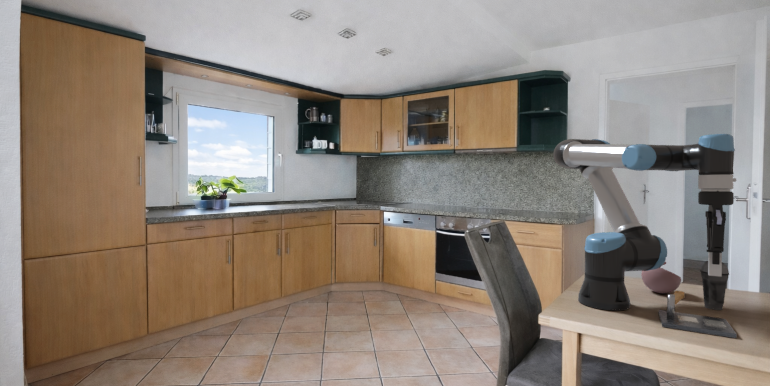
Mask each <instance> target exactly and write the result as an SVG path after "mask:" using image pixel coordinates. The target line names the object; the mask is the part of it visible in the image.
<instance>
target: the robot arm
mask: <svg viewBox="0 0 770 386" xmlns="http://www.w3.org/2000/svg"><path fill="white" fill-rule="evenodd" d="M735 149H736V148H735V142H734V136H733V135H731V134H729V133H713V134H712V133H711V134H704V135H700V137H699V138H698V142H697V143H694V144H681V145H678V144H677V145H674V144H673V145H672V144H670V145H669V144H668V145H667V144H644V143H638V144H637V143H636V144H629V143H628V144H622V143H621V144H618V143H617V144H613V143H612V144H611V143H610V142H608V141H606V140H603V139H597V138H595V139H580V138H578V139H577V138H569V139H564V140H562V141H560V142H559V143H558V144H557V145H556V146H555V148H554V149H553V156H552V157H553V159H554V162H555V163H556V165H558V166H559V167H562V168H564V169H569V170H571V169H572V170H579V171H580V173H581V174H580V175H581V176H582V177H583V179H587V180H589V183H590V185H591V187H592V189H593V191H594V193H595V195H596V197H597V199H598V201H599V204H600V205H601V208H602V210H603V213H604V214H605V216H606V218H607V220H608V223H609V224H610V228H612V231H609V232H603V231H602V232H595V233H591V234H589V235H587V236H586V238H585V243H584V244H585V245H584V279H583V281H582V284H581V287H580V290H579V291H578V297H577V298H578V302H579V303H580V304H582V305H584V306H587V307H589V308H594V309H599V310H604V311H605V310H606V311H626V310H629V309H630V308H631V298H630V296H629V294H628V290H627V287H626V284H625V273H626V272H642V271H649V270H654V269H657V268H659V267H660V268H662V266H664V265H663V264H664V262H666V260H667V257H668V247H667V244H666V242H665V241H664V239H663V238H662V237H659V236H657V235H655V234H653V235H652V233H651V231H650V229H649V227H648V226H647V225H645V224H641V222H640V221H639V219H638V216H637V215H636V213H635V211H634V210H633V208H632V206H631V204H630V202H629V200H628V197H627V195H626V193H625V192H624V190H623V188H622V186H621V183H620V182H619V180H618V178H617V177H616V174H615V173H614V171H613V169H614V168H615V169H626V170H632V171H639V172H640V171H641V172H643V171H665V172H680V171H698V175H697V185H698V187H697V189H699V192H698V195H697V196H698V198H697V199H698V200H697V201H698V204H699V205H702V206H703V205H704V206H705V205H707V207H708V210H705V213H704V214H705V219H706V221H705V222H706V223H705V225H706V241H707V243H706V247H707V249H706V253H707V254H708V256H707V257H708V258H707V259H708V260H707V261H708V275H709V276H720V277H722V262H723V258H722V257H723V252H725V251H724V250H725V248H724V244H725V243H724V242H725V228H726V227H725V226H726V221H727V212H726V211H724V207H723V206H732V205H734V201H735V200H734V195H735V193H734V192H733V191H731V190H733V189H734V182H735V183H736V182H737V178H735V177H734V174H735V173H734V163H735V162H734V161H735V151H736V150H735Z"/></svg>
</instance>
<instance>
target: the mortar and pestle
mask: <svg viewBox="0 0 770 386" xmlns="http://www.w3.org/2000/svg"><path fill="white" fill-rule="evenodd" d="M666 264H667V261H665V262H664V264H663V265H662V266H665V265H666ZM640 273H641V280H642V282H643V284H644V285H645V286H646V288H648V289H649V290H651V291H652V292H655V293H658V294H671V293H672V292H675V291H677V289H678V288H679V287H680V285H681V282H682V277H681V276H679V275H677V274H675V273H673V272H671V271H669V270H667V269H665V268H664V267H659V268H657V269H654V270H649V271H641V272H640Z"/></svg>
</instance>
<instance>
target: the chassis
mask: <svg viewBox="0 0 770 386" xmlns="http://www.w3.org/2000/svg"><path fill="white" fill-rule="evenodd" d="M666 294H667V295H666V296H667V300H666V303H667V305H666V308H667V309H666V310H665V309H663V310H662V309H657V311H658V316H659V321H660V324H661V327H662V328H667V329H674V330H680V331H681V330H682V331H687V332H691V333H692V332H693V333H699V334H706V335H712V336H713V335H714V336H717V337H718V336H719V337H725V338H731V339H737V335H738V334H737V332H736V331H735V329H733V327H732V326H731V324H730V323H729V322H728V320H727V319H726V318H723V317H722V318H721V317H716V316H715V317H714V316H706V315H700V314H692V313H686V312H678V311H675V310H676V309H675V307H676V305H675V295H673V294H674V293H672V294H671V293H666Z"/></svg>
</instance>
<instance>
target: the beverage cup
mask: <svg viewBox="0 0 770 386" xmlns="http://www.w3.org/2000/svg"><path fill="white" fill-rule="evenodd" d="M699 272H700V275H701V279H702V293H703V304H704V308H706V309H709V310H714V311H715V310H716V311H722V310H723V308H724V303H725V297H726V289H727V284H728V283H727V282H728V279H729V276H730V271H729V268H728V267H727V265H726V264H725V263H724V262H723V261H722V277H720V276H709V275H708V260H706V261H704V263H703V264H702V265H701V268H700V270H699Z"/></svg>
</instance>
